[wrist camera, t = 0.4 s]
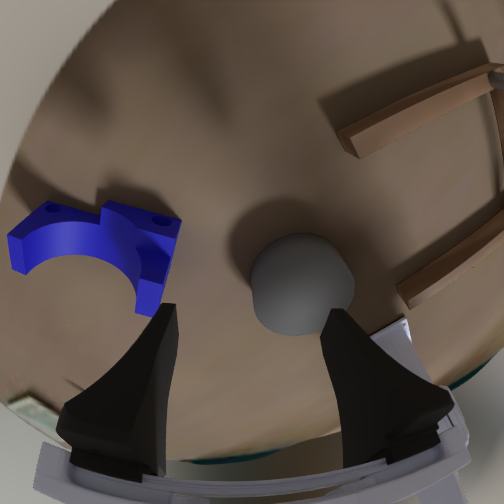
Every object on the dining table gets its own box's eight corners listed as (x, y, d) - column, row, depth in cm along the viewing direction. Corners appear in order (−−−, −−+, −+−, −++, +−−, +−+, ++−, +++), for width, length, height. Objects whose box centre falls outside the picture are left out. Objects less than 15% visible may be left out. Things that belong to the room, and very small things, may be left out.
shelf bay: (513, 210, 22) (525, 220, 19) (399, 294, 26) (409, 310, 24) (489, 62, 13) (507, 64, 11) (335, 132, 17) (349, 137, 15)
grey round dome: (352, 281, 25) (366, 306, 22) (278, 320, 26) (284, 347, 23) (318, 214, 21) (333, 236, 18) (231, 264, 23) (232, 292, 20)
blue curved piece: (182, 219, 20) (167, 265, 15) (170, 267, 22) (156, 318, 17) (48, 183, 17) (5, 214, 12) (48, 230, 19) (12, 269, 14)
